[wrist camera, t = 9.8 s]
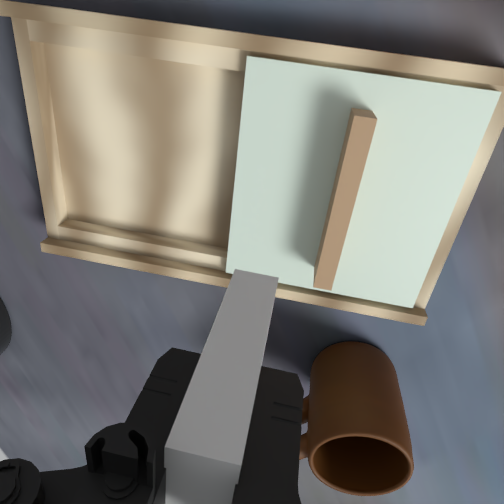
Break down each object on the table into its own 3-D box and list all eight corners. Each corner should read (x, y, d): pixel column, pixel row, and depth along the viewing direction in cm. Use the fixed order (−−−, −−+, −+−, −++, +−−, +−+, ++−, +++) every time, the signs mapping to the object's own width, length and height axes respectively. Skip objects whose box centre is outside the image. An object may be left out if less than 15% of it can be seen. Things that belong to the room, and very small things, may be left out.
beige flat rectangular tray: (65, 233, 34) (41, 251, 31) (32, 3, 25) (-4, -1, 22) (415, 300, 31) (423, 325, 28) (510, 68, 23) (535, 73, 20)
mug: (273, 400, 39) (260, 494, 31) (257, 343, 36) (237, 432, 28) (397, 397, 36) (418, 500, 28) (392, 334, 33) (414, 431, 25)
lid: (227, 268, 30) (217, 292, 27) (248, 55, 22) (238, 57, 20) (411, 303, 29) (420, 331, 26) (497, 90, 21) (523, 98, 19)
